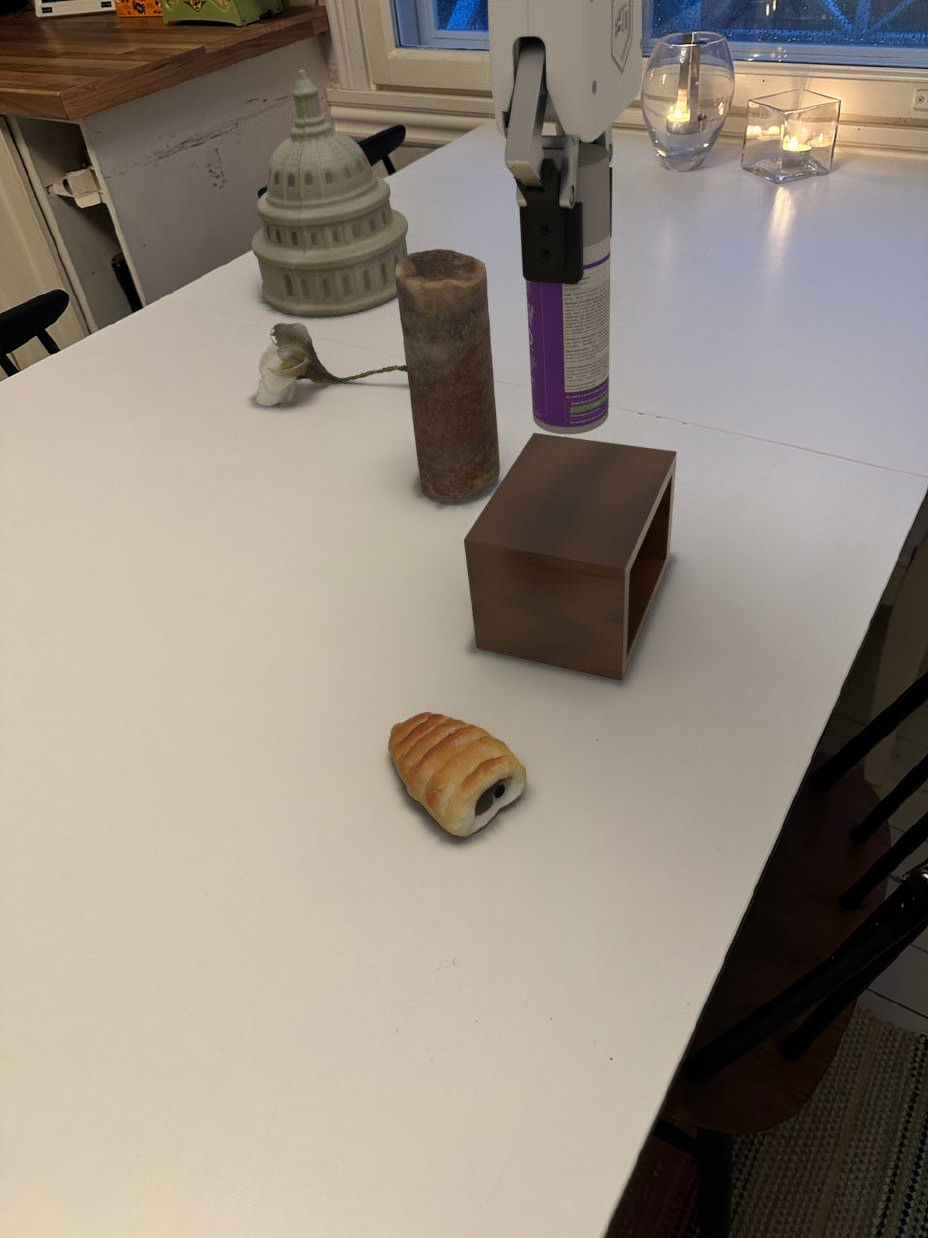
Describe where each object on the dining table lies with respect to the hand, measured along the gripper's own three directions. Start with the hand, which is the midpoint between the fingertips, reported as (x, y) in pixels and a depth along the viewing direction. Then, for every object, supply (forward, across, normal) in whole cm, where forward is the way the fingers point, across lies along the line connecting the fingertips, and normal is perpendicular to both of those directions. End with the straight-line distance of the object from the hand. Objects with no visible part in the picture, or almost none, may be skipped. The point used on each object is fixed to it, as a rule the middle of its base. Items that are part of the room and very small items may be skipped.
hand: (568, 257), depth 51 cm
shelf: (+27, +2, +1) cm, 27 cm away
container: (+10, 0, 0) cm, 10 cm away
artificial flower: (+27, +29, +34) cm, 52 cm away
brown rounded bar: (+27, +16, +16) cm, 35 cm away
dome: (+27, +55, +49) cm, 79 cm away
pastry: (+27, -17, +3) cm, 32 cm away
